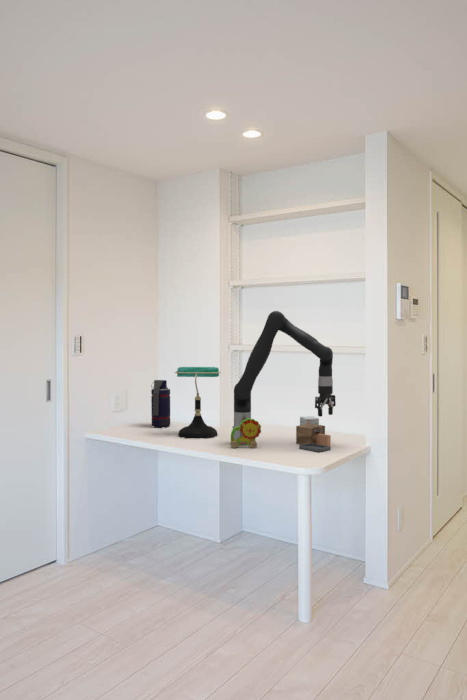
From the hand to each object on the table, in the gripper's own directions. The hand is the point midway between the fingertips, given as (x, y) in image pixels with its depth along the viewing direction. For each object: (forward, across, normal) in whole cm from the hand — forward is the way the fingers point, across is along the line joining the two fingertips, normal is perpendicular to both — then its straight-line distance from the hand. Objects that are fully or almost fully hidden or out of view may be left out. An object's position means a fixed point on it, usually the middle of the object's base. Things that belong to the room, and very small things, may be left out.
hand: (325, 415), depth 302 cm
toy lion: (+16, +33, -26) cm, 45 cm away
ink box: (+16, -13, -22) cm, 30 cm away
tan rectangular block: (+16, 0, -2) cm, 16 cm away
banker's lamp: (+16, +29, -71) cm, 78 cm away
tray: (+16, +11, +2) cm, 20 cm away
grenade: (+16, +27, -112) cm, 116 cm away
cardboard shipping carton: (+16, 0, -10) cm, 19 cm away
